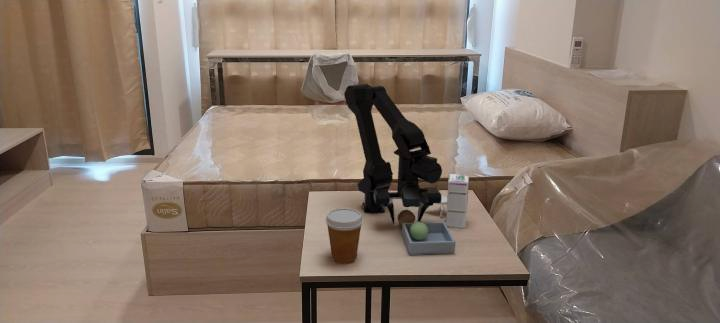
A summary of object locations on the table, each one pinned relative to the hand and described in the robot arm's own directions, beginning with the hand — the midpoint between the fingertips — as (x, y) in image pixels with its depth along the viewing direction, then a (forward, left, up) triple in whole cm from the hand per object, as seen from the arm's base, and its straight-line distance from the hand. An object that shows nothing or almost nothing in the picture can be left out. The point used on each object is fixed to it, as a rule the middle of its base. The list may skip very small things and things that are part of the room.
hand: (405, 222), depth 155 cm
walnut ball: (0, 0, -1) cm, 1 cm away
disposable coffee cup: (+17, -19, -1) cm, 26 cm away
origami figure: (-9, +11, -1) cm, 14 cm away
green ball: (+9, +2, 0) cm, 9 cm away
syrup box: (-1, +15, -1) cm, 15 cm away
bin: (+11, +4, -1) cm, 12 cm away
